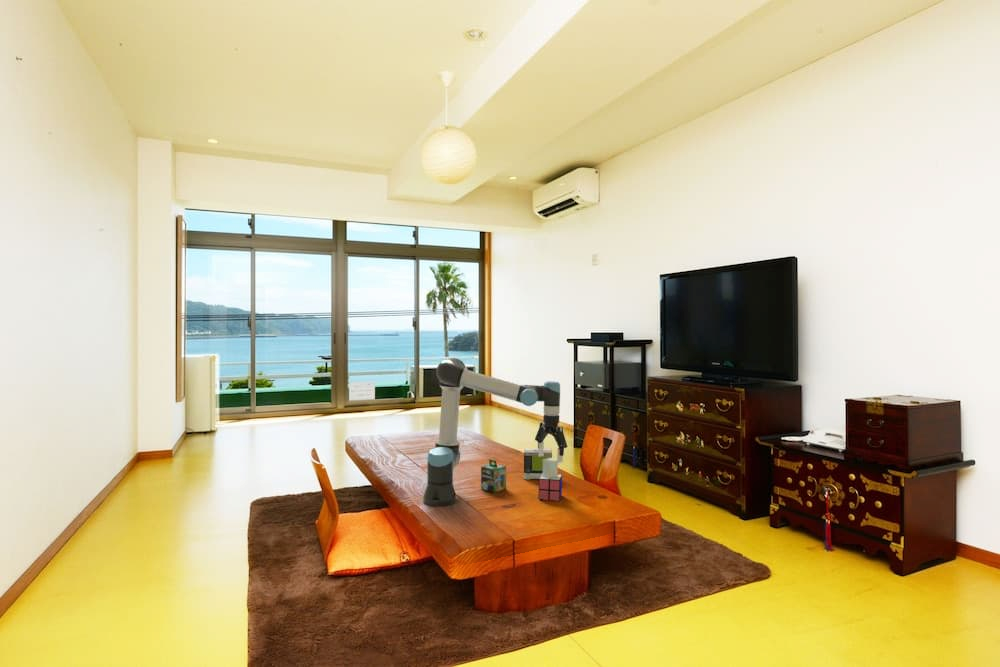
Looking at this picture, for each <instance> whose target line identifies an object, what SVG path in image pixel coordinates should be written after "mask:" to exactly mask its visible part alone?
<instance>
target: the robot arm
mask: <svg viewBox="0 0 1000 667" xmlns="http://www.w3.org/2000/svg"><path fill="white" fill-rule="evenodd" d="M436 377H437V379H438V380H439V387H440V388H441V403H440V404H441V407H440V418H439V419H440V421H439V432H438V434H439V435H438V439H437V440H436V441H435V445H434V448H431V449H430V450H429V451H428V452H427V458H426V459H427V472H426V473H427V474H426V475H427V479H426V480H427V484H426V487H425V490H424V493H423V497H422V502H423V503H424V504H426V505H428V506H435V507H442V506H443V507H445V506H450V505H453V504H455V503H456V502H457V494H456V489H455V487H454V469H455V467H456V466H457V465H458V464H459V462H460V460H461V451H460V442H459V440H458V439H457V437H458V428H459V427H458V424H459V411H460V396H461V390H462V389H463V388H464V387H466V388H469V389H472V390H476V391H478V392H482V393H483V392H484V393H485V394H489V395H493V396H497V397H500V398H504V399H508V400H511V401H515V402H518V403H521V404H522V405H524V406H527V407H532V406H534V405H535V404H536V403H537V402H543V411H542V412H543V420H542V422H540V423H539V428H538V430H537V433H536V435H535V438H534V440H535V441H536V442H537V449H538V456H539V457H541V456H544V449H545V447H544V446H545V443H544V440H545V439H546V437H547V436H548V435H551V436H552V437H553V438H554V440H555V442H556V445H557V446H558V448H557V456H556V457H557V459H556V460H557V463H558V464H560V463H564V462H563V460H564V455H565V454H564V452H565V449H567V448H568V444H567V440H566V436H565V433H564V427H563V426H559V423H560V415H559V414H560V410H561V408H560V406H561V405H560V404H561V384H560V382H558V381H544V384H543V385H535V384H518V383H515V382H510V381H507V380H503V379H501V378H496V377H493V376H490V375H485V374H482V373H479V372H476V371H472V370H469V369H468V367H467V366H466V365H465V363H464V362H463V360H461V359H460V358H457V357H456V358H455V357H450V358H447V359H444V360H442V361H440V362H439V364H438V365H437V367H436Z"/></svg>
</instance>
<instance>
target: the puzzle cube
mask: <svg viewBox="0 0 1000 667" xmlns="http://www.w3.org/2000/svg"><path fill="white" fill-rule="evenodd" d="M562 485H563V475H562V474H558V477H555V478H550V479H549V478H546V477H543V473H542V474H541V476H540V478H539V480H538V495H537V496H538V500H539V499H543V500H542V501H547V500H560V501H561V499H562V496H561V495H563V486H562ZM560 498H561V499H560Z"/></svg>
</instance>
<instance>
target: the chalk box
mask: <svg viewBox="0 0 1000 667" xmlns="http://www.w3.org/2000/svg"><path fill="white" fill-rule="evenodd" d="M480 471H481V472H480V482H481V483H480V485H481V487H480V488H481V489H480V490H482V491H483V490H484V491H486V492H490V493H492V492H493V494H495V493H498V492H500V491H504V490H506V489H507V466H505V465H502V464H497V461H496V460H494V459H490V458H489V459H488V464H486V465H482V466H481V468H480Z"/></svg>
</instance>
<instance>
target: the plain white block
mask: <svg viewBox="0 0 1000 667" xmlns="http://www.w3.org/2000/svg"><path fill="white" fill-rule="evenodd" d="M558 465H559V463H557V459H555V458H553V457H552V458H548V459H543V477H546V478H549V479H550V478H555V477H558V475H559V474H558V472H559V470H558V468H559V467H558Z"/></svg>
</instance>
